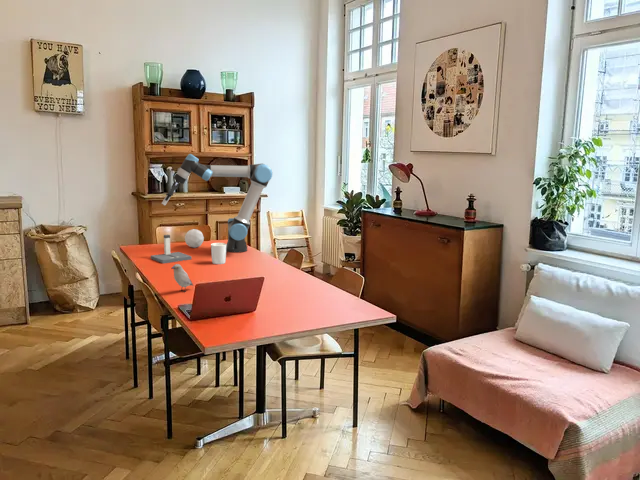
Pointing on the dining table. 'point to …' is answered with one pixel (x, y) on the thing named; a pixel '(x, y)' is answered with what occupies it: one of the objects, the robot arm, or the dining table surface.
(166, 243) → the fader knob
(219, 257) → the candle holder
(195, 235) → the geodesic sphere
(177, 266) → the bird
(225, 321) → the dining table surface
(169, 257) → the board
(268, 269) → the dining table surface
